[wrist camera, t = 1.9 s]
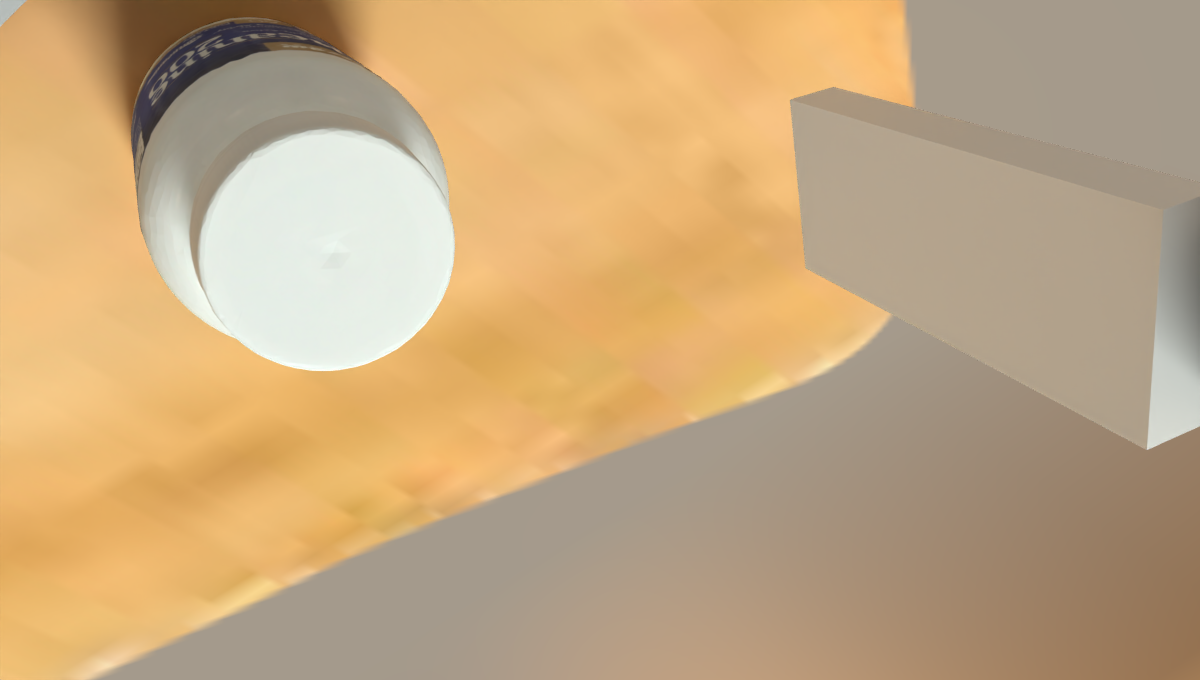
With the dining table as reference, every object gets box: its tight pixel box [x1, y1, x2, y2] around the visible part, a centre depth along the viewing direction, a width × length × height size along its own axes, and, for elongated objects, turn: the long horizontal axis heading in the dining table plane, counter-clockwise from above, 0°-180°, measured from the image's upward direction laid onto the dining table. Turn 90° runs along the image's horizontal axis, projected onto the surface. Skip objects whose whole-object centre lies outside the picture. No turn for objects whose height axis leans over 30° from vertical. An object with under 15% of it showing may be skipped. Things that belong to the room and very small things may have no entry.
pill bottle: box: [131, 17, 455, 371], centre depth 21 cm, size 5×5×10 cm
